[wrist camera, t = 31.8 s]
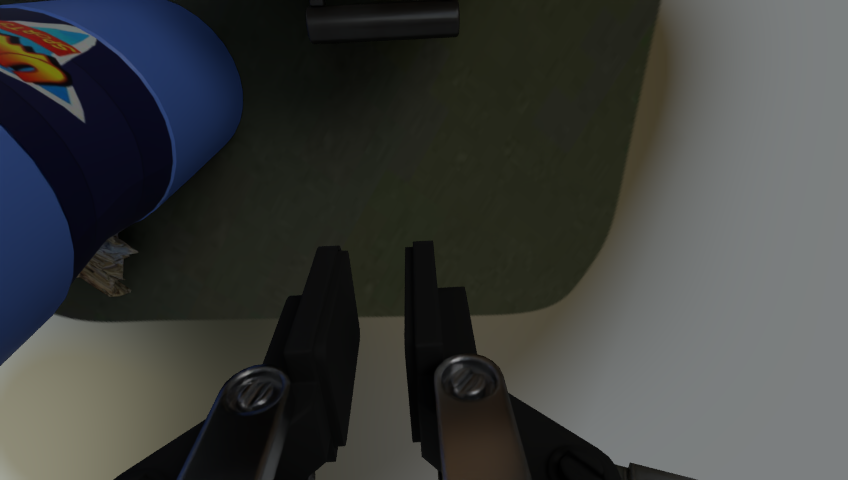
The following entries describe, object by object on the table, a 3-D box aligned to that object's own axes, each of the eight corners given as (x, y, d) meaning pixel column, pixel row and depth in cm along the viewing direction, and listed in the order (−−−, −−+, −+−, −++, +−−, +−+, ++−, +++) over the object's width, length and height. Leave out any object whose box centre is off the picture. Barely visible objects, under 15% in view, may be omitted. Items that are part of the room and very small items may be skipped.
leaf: (153, 267, 29) (170, 254, 30) (-84, 68, 24) (-48, 66, 26) (55, 363, 32) (76, 345, 33) (-171, 200, 27) (-133, 191, 29)
